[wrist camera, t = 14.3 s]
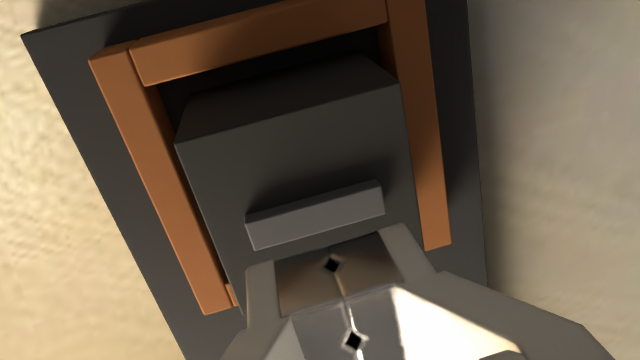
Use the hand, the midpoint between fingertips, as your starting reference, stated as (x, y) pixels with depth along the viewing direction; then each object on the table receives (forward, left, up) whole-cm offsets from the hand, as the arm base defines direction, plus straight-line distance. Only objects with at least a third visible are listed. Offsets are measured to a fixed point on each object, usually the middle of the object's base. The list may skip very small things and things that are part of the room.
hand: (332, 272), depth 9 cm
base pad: (+8, -7, -7) cm, 13 cm away
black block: (0, 0, -6) cm, 6 cm away
